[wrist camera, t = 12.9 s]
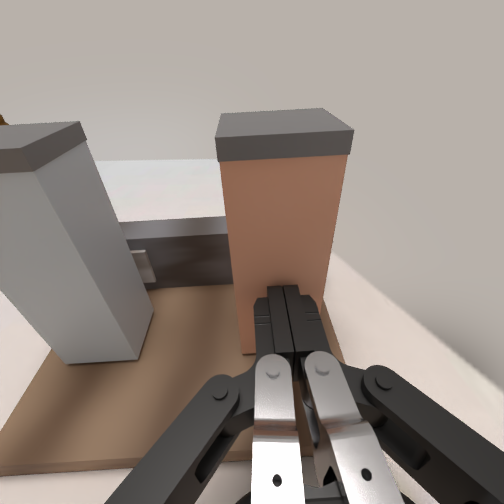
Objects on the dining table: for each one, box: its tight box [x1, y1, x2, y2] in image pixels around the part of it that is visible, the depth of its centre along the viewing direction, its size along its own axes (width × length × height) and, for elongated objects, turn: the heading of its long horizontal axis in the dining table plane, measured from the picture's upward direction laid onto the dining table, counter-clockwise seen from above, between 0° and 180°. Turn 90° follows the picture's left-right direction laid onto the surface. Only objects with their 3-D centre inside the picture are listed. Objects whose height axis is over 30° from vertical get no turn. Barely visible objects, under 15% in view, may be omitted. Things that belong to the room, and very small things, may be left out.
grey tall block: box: [0, 121, 154, 364], centre depth 14 cm, size 5×4×13 cm
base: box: [0, 216, 345, 476], centre depth 17 cm, size 19×14×6 cm
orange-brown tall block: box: [215, 108, 354, 354], centre depth 14 cm, size 5×4×13 cm
